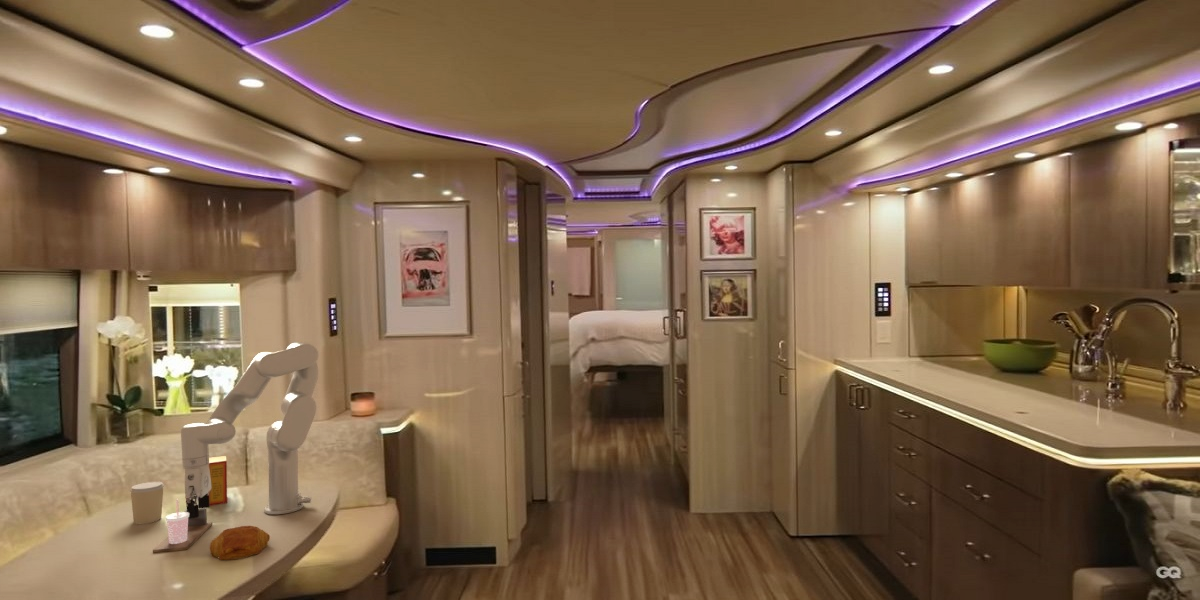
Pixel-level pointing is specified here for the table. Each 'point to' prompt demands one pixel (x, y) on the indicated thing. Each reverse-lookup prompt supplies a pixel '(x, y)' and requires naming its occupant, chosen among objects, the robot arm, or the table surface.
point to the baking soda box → (218, 480)
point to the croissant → (239, 542)
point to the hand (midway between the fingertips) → (198, 512)
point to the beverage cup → (177, 526)
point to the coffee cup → (147, 502)
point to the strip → (194, 532)
